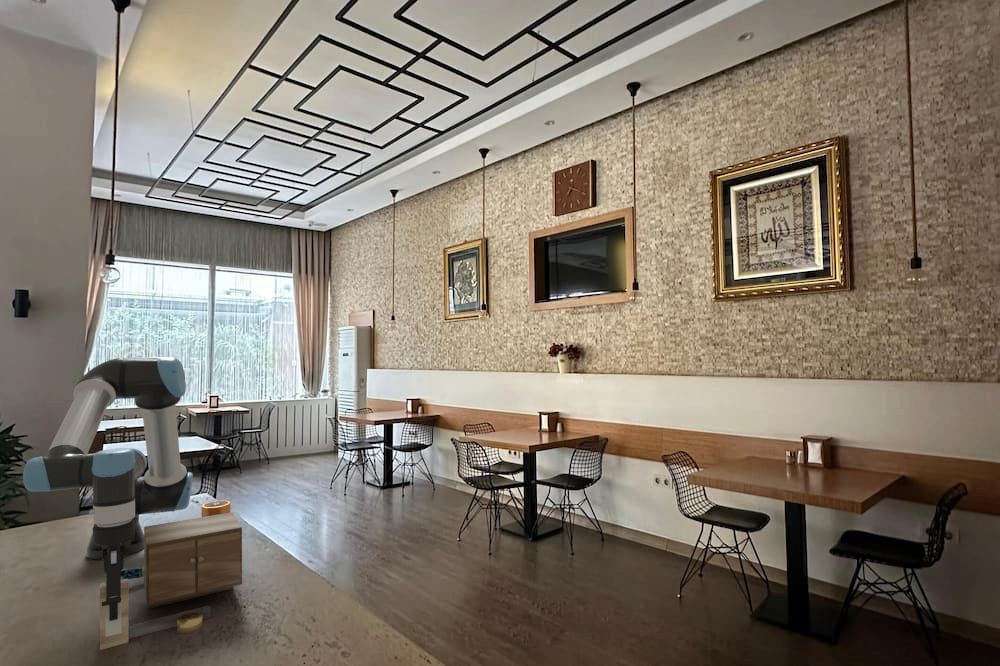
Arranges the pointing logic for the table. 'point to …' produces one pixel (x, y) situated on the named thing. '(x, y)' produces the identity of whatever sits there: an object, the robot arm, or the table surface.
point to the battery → (215, 508)
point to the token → (189, 623)
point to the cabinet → (191, 558)
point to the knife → (133, 573)
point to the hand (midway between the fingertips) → (114, 620)
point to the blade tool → (140, 627)
